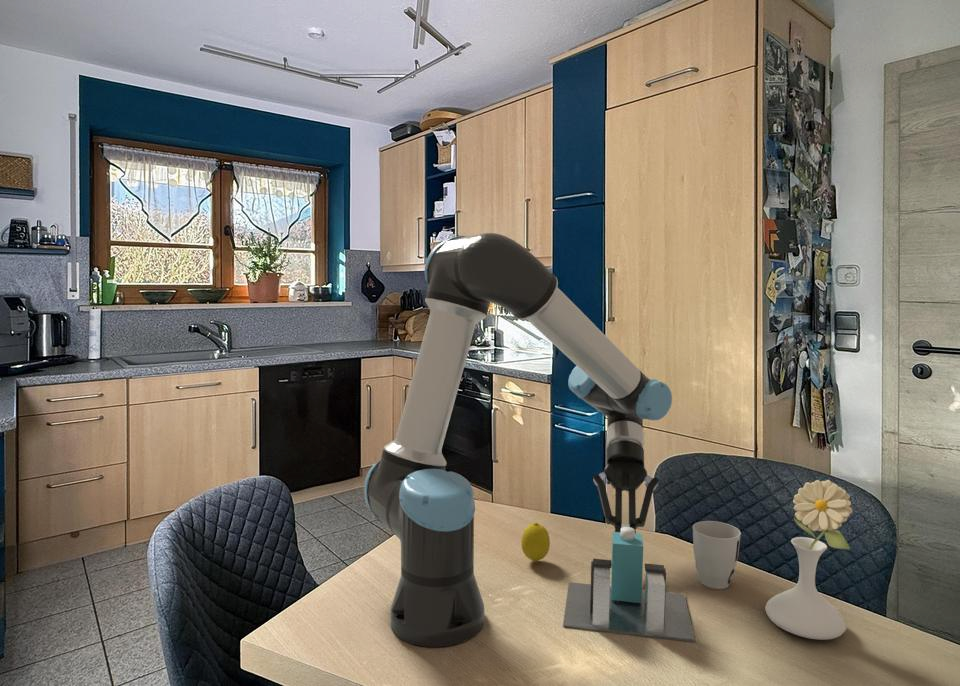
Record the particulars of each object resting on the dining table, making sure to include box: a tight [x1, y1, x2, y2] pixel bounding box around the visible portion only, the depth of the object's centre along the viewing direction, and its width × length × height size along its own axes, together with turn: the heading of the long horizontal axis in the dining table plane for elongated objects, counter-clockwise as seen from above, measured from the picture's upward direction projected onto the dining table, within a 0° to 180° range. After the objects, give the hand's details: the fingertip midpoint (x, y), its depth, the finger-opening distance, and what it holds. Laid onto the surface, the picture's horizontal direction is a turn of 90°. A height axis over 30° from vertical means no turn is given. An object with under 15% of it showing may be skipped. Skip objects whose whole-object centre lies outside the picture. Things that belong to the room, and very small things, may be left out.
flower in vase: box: [764, 479, 853, 641], centre depth 95 cm, size 13×11×25 cm
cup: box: [692, 520, 742, 590], centre depth 111 cm, size 8×8×10 cm
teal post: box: [610, 527, 644, 603], centre depth 105 cm, size 5×5×12 cm
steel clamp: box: [562, 558, 696, 643], centre depth 101 cm, size 20×14×9 cm
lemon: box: [520, 522, 551, 563], centre depth 119 cm, size 6×6×8 cm
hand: (625, 560), depth 112 cm, fingers closed
